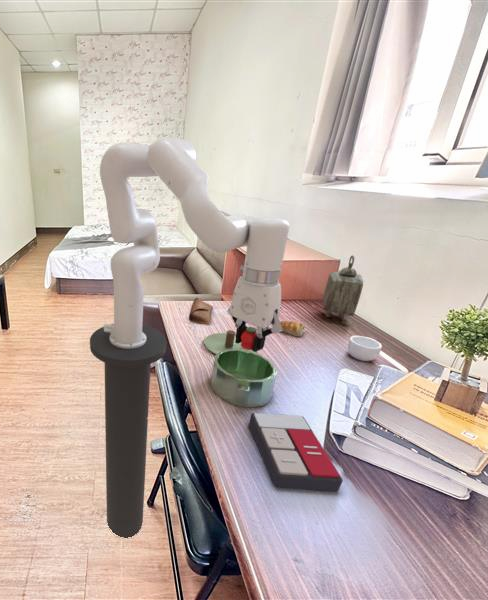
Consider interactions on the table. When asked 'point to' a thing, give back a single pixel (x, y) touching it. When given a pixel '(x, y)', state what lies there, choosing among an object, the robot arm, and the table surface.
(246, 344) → the strawberry
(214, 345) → the lid
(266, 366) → the tin
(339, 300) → the tabletop clock
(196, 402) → the table surface
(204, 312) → the sunglasses case
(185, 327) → the table surface
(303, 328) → the pastry
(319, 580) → the table surface
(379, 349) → the teacup
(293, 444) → the calculator
